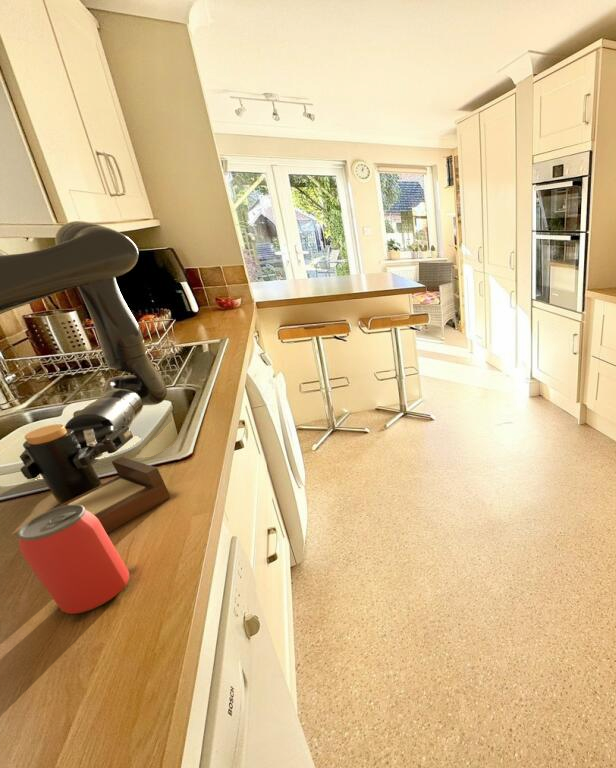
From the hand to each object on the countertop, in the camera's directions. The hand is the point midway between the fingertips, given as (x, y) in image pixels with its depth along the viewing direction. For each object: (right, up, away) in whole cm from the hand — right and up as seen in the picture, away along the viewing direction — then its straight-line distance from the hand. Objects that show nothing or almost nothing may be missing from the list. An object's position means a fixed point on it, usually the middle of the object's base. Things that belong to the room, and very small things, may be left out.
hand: (53, 468), depth 66 cm
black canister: (-1, -6, +5) cm, 8 cm away
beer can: (+20, -13, -13) cm, 28 cm away
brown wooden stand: (+9, -7, +2) cm, 11 cm away
